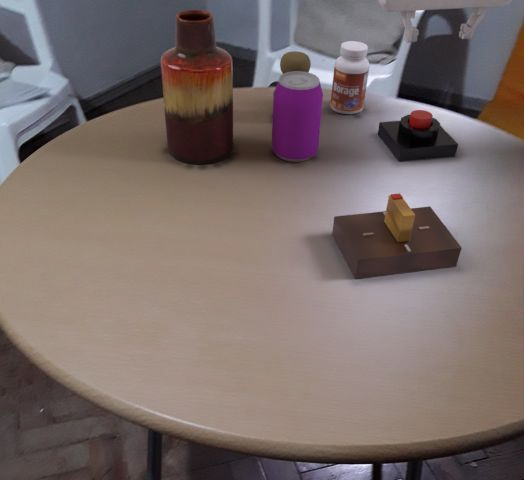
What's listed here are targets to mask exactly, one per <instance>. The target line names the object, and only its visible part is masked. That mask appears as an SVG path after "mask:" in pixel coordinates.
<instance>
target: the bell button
mask: <svg viewBox="0 0 524 480" xmlns="http://www.w3.org/2000/svg"><path fill="white" fill-rule="evenodd" d="M409 115H410V119H409V125H411V126H413V127H416V128H429V127H430V126H431V122H432V118H434V115H433V113H432V112H430V111H428V110H424V109H423V110H422V109H415V110H412V111H411V112H410V114H409Z"/></svg>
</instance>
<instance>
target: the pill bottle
mask: <svg viewBox="0 0 524 480" xmlns="http://www.w3.org/2000/svg"><path fill="white" fill-rule="evenodd" d="M368 49H369V47H368V45H367V44H366V43H365V42H361V41H357V40H356V41H355V40H347V41H343V42H341V45H340V49H339V53H340V56H338V57H337V58H336V59H335V61H334V67H333V74H332V75H333V77H332V85H331V94H330V105H329V106H330V108H331V109H332V111H334V112H336V113H337V114H341V115H355V114H359V113H361V112H362V111H363V110H364V106H365V99H366V94H367V93H366V92H367V86H368V80H369V72H370V65H371V64H370V62H369V59H368V58H367V56H368V51H369V50H368Z"/></svg>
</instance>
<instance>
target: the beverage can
mask: <svg viewBox="0 0 524 480" xmlns="http://www.w3.org/2000/svg"><path fill="white" fill-rule="evenodd" d="M322 88H323V87H322V85H321V81H320V78H319V77H318V76H317V75H316V74H313V73H311V72H309V73H308V72H301V71H292V72H287V73H284V74H283V73H282V74H281V75H279V78H278V81H277V83H276V86H275V88H274V91H273V97H272V124H271V125H272V126H271V149H272V152H273V153H274V154H275V155H276V156H277V157H278V158H279V159H282V160H284V161H287V162H293V163H299V162H305V161H308V160H310V159H311V158H312V157H314V156H315V155H316V154H317V153H318V150H319V144H320V133H321V124H322V123H321V122H322V111H323V101H324V92H323V89H322Z"/></svg>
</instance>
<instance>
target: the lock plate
mask: <svg viewBox="0 0 524 480" xmlns="http://www.w3.org/2000/svg"><path fill="white" fill-rule="evenodd" d="M410 208H411V207H410ZM411 210H412V211H413V213H414V214H415V218H414V222H413V226H412V231H411V235H410V240H409V241H406V242H397V240H396V239H395V237H394V236H393V234H392V233H391V231H390V230H389V228H388V227H387V225H386V224H385V222H384V219H385V214H386V210H383V211H373V212H364V213H354V214H345V215H337V216H336V215H335V216H334V217H333V224H332V233H331V236H332V238H333V240H334V242H335V243H336V245H337V248H338V249H339V251H340V253H341V255H342V257H343V259H344V260H345V262H346V264H347V266H348V268H349V270H350V272H351V274H352V276H353V278H354V279H355V280H358V279H366V278H373V277H382V276H391V275H399V274H406V273H413V272H423V271H430V270H438V269H444V268H445V269H447V268H454V267H457V265H458V261H459V259H460V255H461V251H462V246H461V245H460V243H459V242H458V240H457V239H456V238H455V237H454V236H453V234H452V233H451V232H450V230H449V229H448V227H447V226H446V225H445V224H444V223H443V221H442V220H441V219H440V217H439V215H438V214H437V213H436V212H435V210H433V208H432V207H431V206H420V207H412V208H411Z"/></svg>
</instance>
